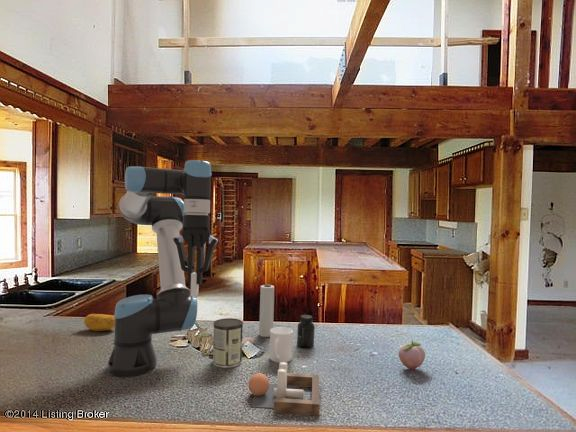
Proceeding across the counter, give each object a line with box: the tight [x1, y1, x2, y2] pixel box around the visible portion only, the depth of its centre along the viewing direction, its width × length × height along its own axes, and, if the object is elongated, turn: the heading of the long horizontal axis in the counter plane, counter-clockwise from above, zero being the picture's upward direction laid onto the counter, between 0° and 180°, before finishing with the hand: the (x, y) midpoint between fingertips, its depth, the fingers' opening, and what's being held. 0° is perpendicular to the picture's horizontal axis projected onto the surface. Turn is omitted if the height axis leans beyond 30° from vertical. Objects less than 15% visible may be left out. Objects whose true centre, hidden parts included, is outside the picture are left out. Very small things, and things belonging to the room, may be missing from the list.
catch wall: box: [273, 372, 321, 417], centre depth 108 cm, size 12×18×3 cm, turn 176°
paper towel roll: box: [258, 284, 275, 338], centre depth 162 cm, size 7×6×21 cm
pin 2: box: [276, 368, 286, 398], centre depth 106 cm, size 2×2×8 cm
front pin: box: [274, 388, 305, 400], centre depth 108 cm, size 2×2×8 cm
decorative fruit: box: [398, 340, 426, 371], centre depth 130 cm, size 9×8×10 cm
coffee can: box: [212, 317, 244, 369], centre depth 132 cm, size 10×10×14 cm
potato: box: [83, 313, 115, 332], centre depth 161 cm, size 7×14×7 cm, turn 84°
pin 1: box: [278, 362, 288, 389], centre depth 111 cm, size 2×2×8 cm
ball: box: [248, 372, 270, 396], centre depth 109 cm, size 6×6×6 cm
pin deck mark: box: [250, 383, 298, 410], centre depth 109 cm, size 12×14×1 cm
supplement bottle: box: [296, 314, 316, 350], centre depth 150 cm, size 7×7×12 cm
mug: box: [269, 326, 294, 364], centre depth 135 cm, size 12×8×10 cm
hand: (194, 295), depth 109 cm, fingers closed
